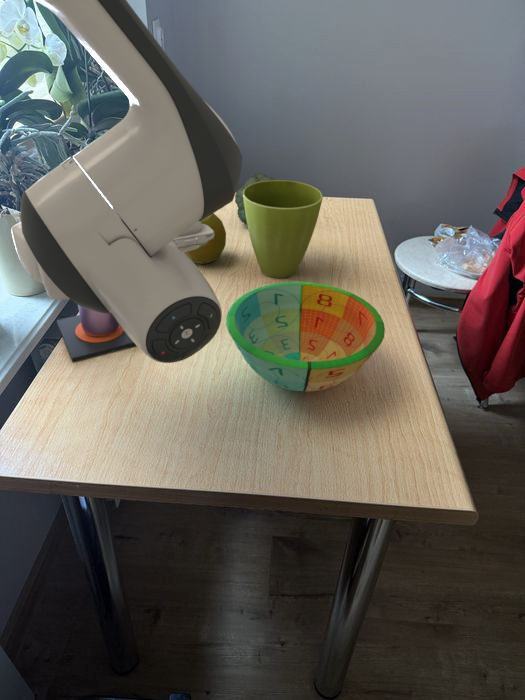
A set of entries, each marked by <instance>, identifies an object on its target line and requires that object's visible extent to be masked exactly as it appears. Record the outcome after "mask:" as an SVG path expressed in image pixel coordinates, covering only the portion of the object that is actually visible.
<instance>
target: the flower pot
mask: <svg viewBox="0 0 525 700" xmlns="http://www.w3.org/2000/svg"><path fill="white" fill-rule="evenodd" d="M243 199H244V207H245V214H246V220H247V225H246V226H247V229H248V234H249V239H250V242H251V245H252V249H253V252H254V256H255V259H256V262H257V265H258V266H259V269H260V271H261V273H262V274H263V275H265V276H266V277H267V276H268V277H270V278H273V279H275V278H276V279H286V278H290V277H292V276H294V275H295V274H296V273H297V271H298V269H299V267H300V265H301V263H302V261H303V260H304V257H305V255H306V253H307V250H308V247H309V246H310V243H311V241H312V237H313V235H314V232H315V228H316V225H317V221H318V218H319V215H320V210H321V207H322V203H323V199H324V195H323V193H322V192H321V191H320V189H318V188H317V187H315V186H312V185H310V184H308V183H305V182H301V181H295V180H285V179H284V180H283V179H278V180H270V181H262V182H257V183H254V184H251V185H249V186H248V187H246V188H245V189H244V191H243Z"/></svg>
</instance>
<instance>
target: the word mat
mask: <svg viewBox="0 0 525 700" xmlns="http://www.w3.org/2000/svg"><path fill="white" fill-rule="evenodd" d="M55 323H56V326H57V328H58V330H59V333H60V335H61V338H62V340H63V343H64V345H65V348H66V350H67V353H68V355H69V357H70V361H71V362H72V363H75V362H78V361H83V360H87V359H90V358H94V357H99V356H102V355H106V354H111V353H114V352H117V351H121V350H126V349H128V348H133V347H137V345H136V344H135V343H134V342H133V341H132V340H131V339H130V338H129V336H128V335H127V334H126V333H125V331H124V330H123V329H122V327H121V326H120V325H119V327H118V329H117V330H116V331H115V332H114V333H112V334H110V335H108V336H103V337H94V336H91V335H88V334H87V333H86V332H85V331H84V330H83V328H82V324H81V319H80V314H78V315H75V316H74V315H73V316H69V317H65V318H61V319H56V320H55Z"/></svg>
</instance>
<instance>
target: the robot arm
mask: <svg viewBox="0 0 525 700" xmlns="http://www.w3.org/2000/svg"><path fill="white" fill-rule="evenodd" d="M33 1H34V2H37V3H38V4H40V5H42V6H43V7H45V8H47V10H49V11H50V12H52V13H53V14H54V15H55V16H56V17H57V18H58V20H60V22H62V24H63V25H64V26H65V27H66V28H67V29H68V31H69V32H70V33H71V34H72V35H73V36H74V37H75V39H77V41H79V43H80V45H81V46H82V47H83V48H84V49H85V50H86V51H87V52H88V54H90V55H91V57H92V58H93V59H94V60H95V61H96V62H97V64H98V65H99V66H100V67H101V68H102V70H104V72H105V73H106V74H107V75H108V76H109V78H110V79H111V80H112V81H113V82H114V83H115V84H116V86H118V88H119V89H120V90H121V91H122V92H123V94H125V96H126V97H127V98H128V99H127V100H128V101H129V107H128V111H127V113H126V115H125V116H124V117H123V118H122V119H121V120H120V121H119V122H118V123H116V124H115V125H114V126H113V127H111V128H110V129H108V130H107V131H105V132H104V133H103V134H101V135H100V136H99V137H97V138H96V139H95V140H93V141H92V142H91V143H89V144H88V145H86V146H85V147H84V148H82V149H81V150H80V151H78V152H77V153H75V154H74V155H73V156H69V157H68V158H67V159H65V160H64V161H62V162H61V163H60V164H58V165H57V166H56V167H54V168H53V169H52V170H50V171H49V172H48V173H46V174H45V175H44V176H42V177H41V178H40V179H38V180H37V181H36V182H34V183H33V184H32V185H31V186H29V187H28V188H27V189H26V190H24V191H23V192H22V195H21V199H20V200H21V201H20V212H19V213H20V222H17V223H16V224H14V225H12V226H11V228H10V230H11V236H12V240H13V244H14V248H15V251H16V254H17V257H18V259H19V261H20V264H21V265H22V267H23V268H24V270H25V271H26V272H27V274H28V275H29V276H30V277H31V278H32V279H33V280H34V281H36V282H38V283H40V284H42V285H43V288H44V290H45V293H46V294H47V297H48V298H49V299H51V300H59V301H60V300H71V301H72V302H74V303H75V304H76V305H77V306H78V305H79V306H81V307H84V308H87V309H90V310H93V311H96V312H99V313H105V314H110V313H112V314H113V316H114V317H115V319H116V320H117V322H118V323H119V325H120V326H121V327H122V329H123V330H124V331H125V333H126V334H127V335H128V336H129V338H130V339H131V340H132V341H133V342H134V343H135V344H136V345H137V346H136V347H137V348H138V349H139V350H140V351H141V352H142V353H143V354H144V355H146V356H147V357H148V358H149V359H151V360H152V361H155V362H157V363H164V364H173V363H177V362H182V361H184V360H186V359H188V358H190V357H192V356H194V355H195V354H196V353H198V352H199V351H201V350H202V349H203V348H205V346H207V345H208V344H209V343H210V342H211V341H212V340H213V338H214V337H215V336H216V335H217V333H218V331H219V329H220V326H221V324H222V318H223V310H222V307H221V303H220V301H219V299H218V297H217V295H216V292H215V291H214V289H213V287H212V286H211V284H210V283H209V281H208V280H207V278H206V276H205V275H204V274H203V272H202V271H201V270H200V269H199V267H198V266H197V265H196V264H195V262H193V261H192V260H191V259H190V258H189V257H188V256H187V255H186V254H185V253H184V252H187V251H191V250H195V249H197V248H199V247H200V246H203V245H206V244H207V243H208V241H209V240H212V239H214V236H215V234H214V231H213V230H212V229H211V228H210V227H209V226H207V225H205V224H201V221H202V220H203V219H205V218H206V217H208V216H210V215H211V214H213V213H214V214H215V213H216V212H218V211H219V210H221V209H223V208H225V207H226V206H227V205H229V204H230V203H232V202H233V201H234V200H235V194H236V192H237V190H238V186H239V182H240V178H241V173H242V172H241V171H242V166H243V165H242V164H243V156H242V153H241V150H240V149H239V146H238V144H237V141H236V139H235V137H234V135H233V133H232V131H231V130H230V128H229V127H228V125H227V124H226V122H225V121H224V120H223V119H222V117H221V116H220V115H219V114H218V113H217V112H216V111H215V109H213V108H212V107H211V105H210V104H208V103H207V101H205V100H204V99H203V98H202V97H201V95H200V94H199V93H198V92H197V91H196V89H195V88H194V87H193V85H191V84H190V82H189V81H188V80H187V78H186V77H185V76H184V75H183V73H181V70H180V69H179V68H178V67H177V66H176V64H175V63H174V62H173V61H172V59H171V57H170V56H169V55H168V54H167V52H166V51H165V50H164V48H163V47H162V46H161V45H160V43H159V42H158V41H157V39H156V37H154V35H153V34H152V33H151V31H150V30H149V29H148V27H147V26H146V25H145V23H144V22H143V20H142V19H141V18H140V17H139V16H138V13H136V11H135V10H134V8H133V7H132V6H131V5H130V4H129V2H128V1H127V0H33Z"/></svg>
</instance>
